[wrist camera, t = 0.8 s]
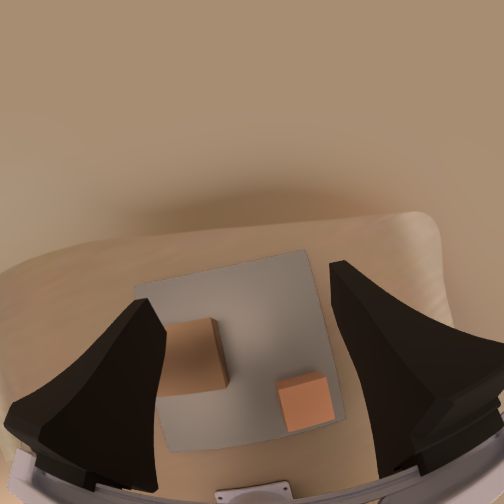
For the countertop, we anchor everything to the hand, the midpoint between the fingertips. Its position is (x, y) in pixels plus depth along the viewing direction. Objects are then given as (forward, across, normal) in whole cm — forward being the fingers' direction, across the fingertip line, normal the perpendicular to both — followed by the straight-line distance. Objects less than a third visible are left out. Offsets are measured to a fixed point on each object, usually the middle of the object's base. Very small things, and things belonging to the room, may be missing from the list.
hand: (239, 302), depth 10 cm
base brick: (+8, +8, +12) cm, 17 cm away
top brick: (+5, -2, +17) cm, 18 cm away
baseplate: (+8, +4, +14) cm, 17 cm away
